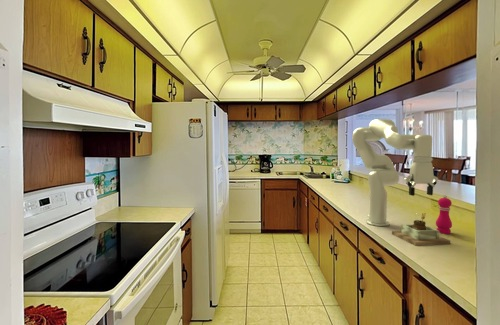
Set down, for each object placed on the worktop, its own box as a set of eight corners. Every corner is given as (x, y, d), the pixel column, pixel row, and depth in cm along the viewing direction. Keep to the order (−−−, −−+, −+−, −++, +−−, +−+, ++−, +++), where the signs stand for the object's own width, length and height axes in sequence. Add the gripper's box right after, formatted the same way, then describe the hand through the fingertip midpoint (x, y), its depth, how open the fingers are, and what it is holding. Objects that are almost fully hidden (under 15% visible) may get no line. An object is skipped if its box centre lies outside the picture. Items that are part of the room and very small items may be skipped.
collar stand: (391, 233, 156) (392, 223, 155) (423, 232, 158) (423, 222, 158) (415, 245, 138) (415, 233, 138) (450, 243, 140) (450, 232, 140)
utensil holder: (421, 233, 151) (421, 210, 151) (429, 237, 145) (430, 212, 144) (409, 233, 151) (410, 210, 150) (417, 237, 145) (418, 213, 144)
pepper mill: (445, 230, 162) (446, 193, 161) (455, 234, 155) (456, 196, 154) (432, 230, 162) (433, 193, 161) (441, 234, 155) (442, 196, 154)
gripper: (432, 159, 151) (431, 193, 152) (401, 159, 148) (399, 194, 149) (444, 160, 143) (442, 196, 144) (411, 160, 141) (409, 196, 142)
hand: (420, 195), depth 147 cm, fingers open, 9 cm apart
